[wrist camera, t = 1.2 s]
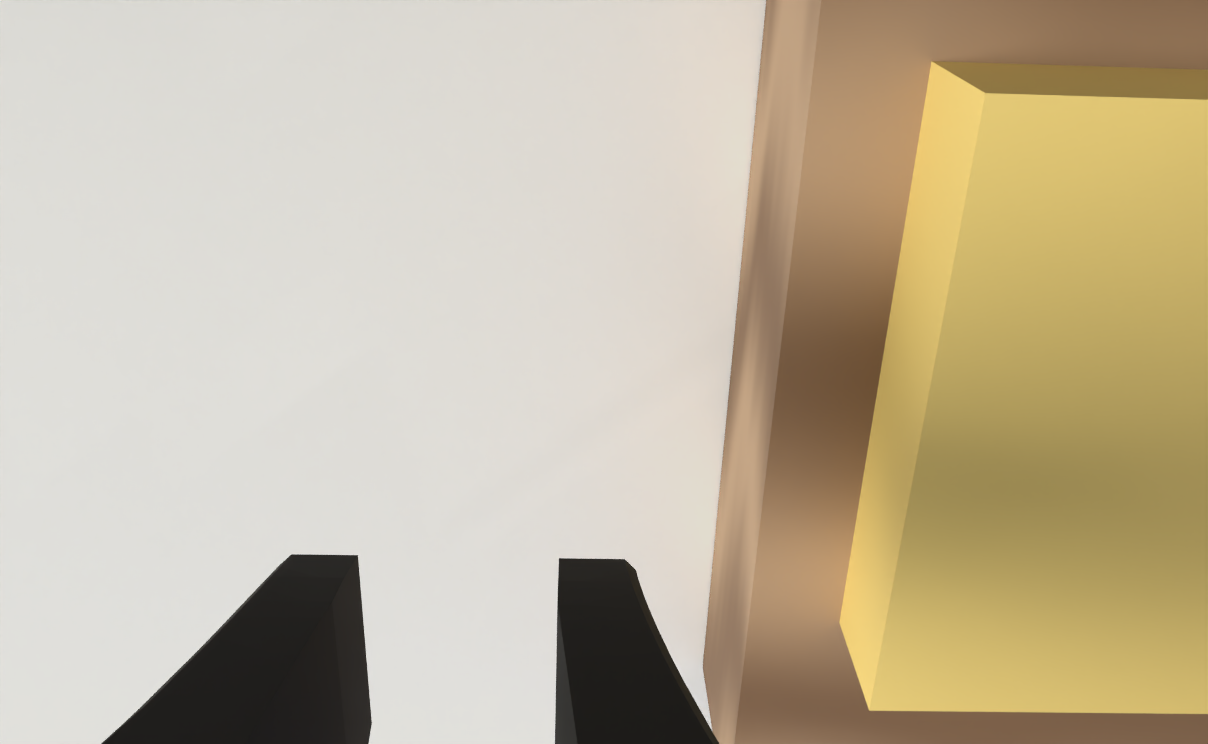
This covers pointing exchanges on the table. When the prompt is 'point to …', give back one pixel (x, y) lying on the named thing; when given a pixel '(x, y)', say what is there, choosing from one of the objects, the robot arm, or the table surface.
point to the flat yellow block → (1043, 403)
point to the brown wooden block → (860, 346)
